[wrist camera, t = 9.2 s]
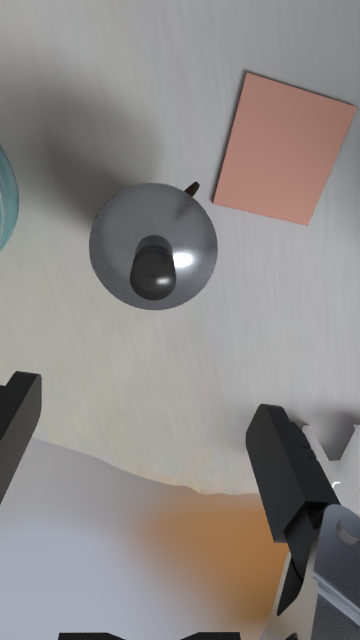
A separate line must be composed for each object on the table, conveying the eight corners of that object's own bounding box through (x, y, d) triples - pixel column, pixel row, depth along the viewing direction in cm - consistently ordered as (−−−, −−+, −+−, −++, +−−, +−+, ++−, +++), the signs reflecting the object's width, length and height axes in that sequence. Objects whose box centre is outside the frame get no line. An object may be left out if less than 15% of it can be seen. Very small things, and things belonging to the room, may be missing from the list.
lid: (231, 199, 24) (255, 215, 18) (198, 313, 30) (208, 354, 24) (97, 167, 23) (74, 172, 17) (87, 294, 28) (67, 333, 22)
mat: (355, 107, 30) (357, 107, 30) (306, 224, 36) (307, 225, 35) (246, 73, 28) (247, 72, 28) (212, 203, 34) (213, 203, 34)
